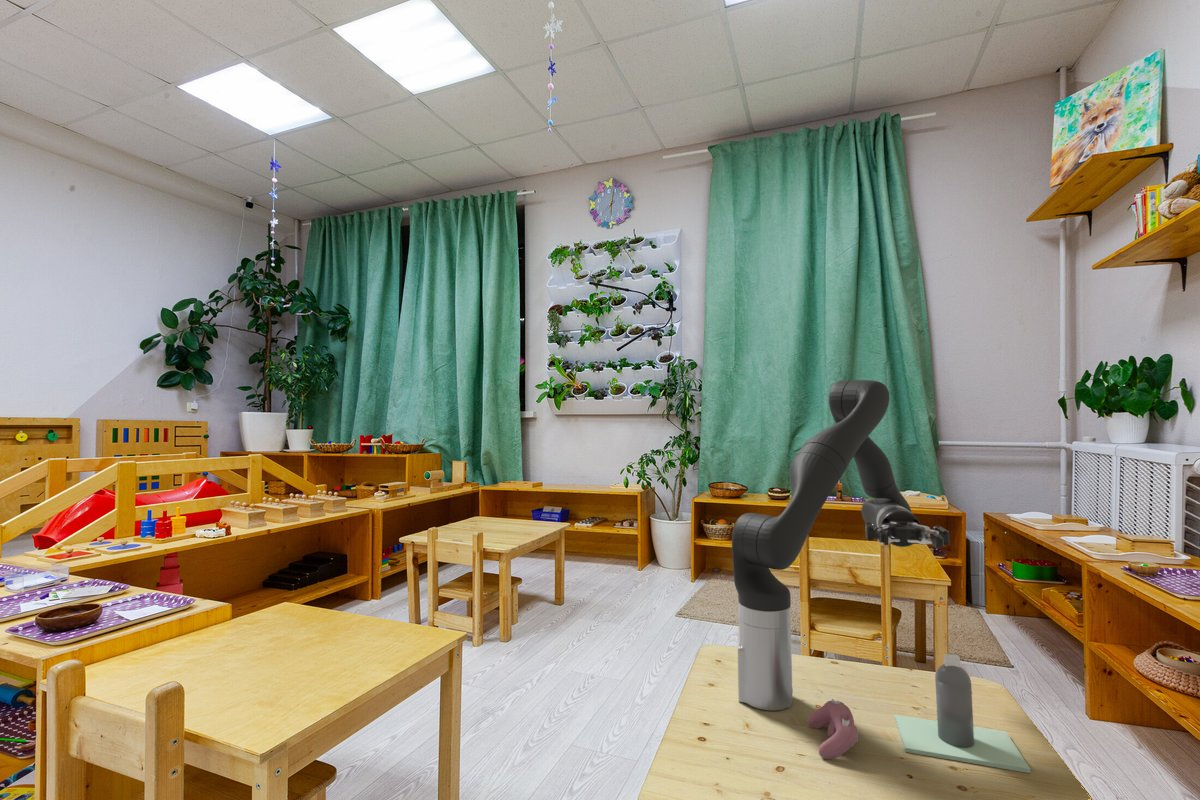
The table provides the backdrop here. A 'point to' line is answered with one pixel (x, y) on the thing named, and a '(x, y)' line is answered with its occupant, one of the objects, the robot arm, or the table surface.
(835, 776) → the table surface
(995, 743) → the mat
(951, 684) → the grey bottle
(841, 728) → the mauve curved piece
